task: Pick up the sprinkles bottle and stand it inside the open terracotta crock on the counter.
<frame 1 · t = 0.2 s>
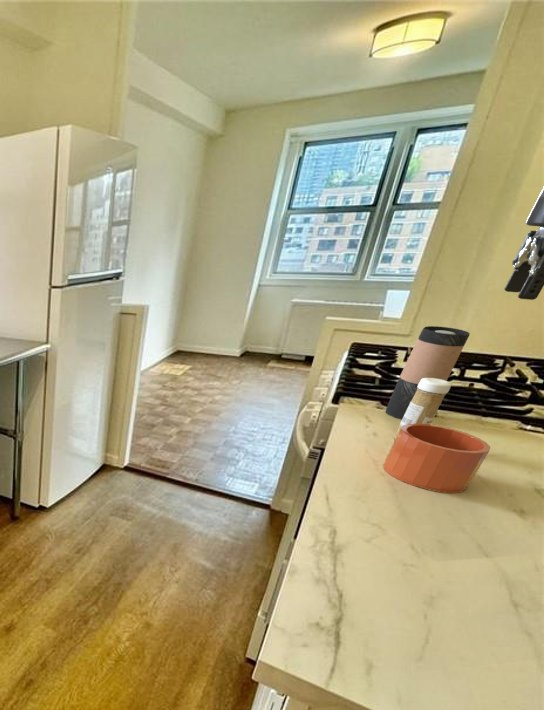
hand: (518, 295, 88), 30 cm above the worktop, tool pointing down, fingers open, 8 cm apart
crock: (423, 475, 89), on the worktop
travel mug: (404, 416, 113), on the worktop
sprinkles bottle: (405, 442, 102), on the worktop
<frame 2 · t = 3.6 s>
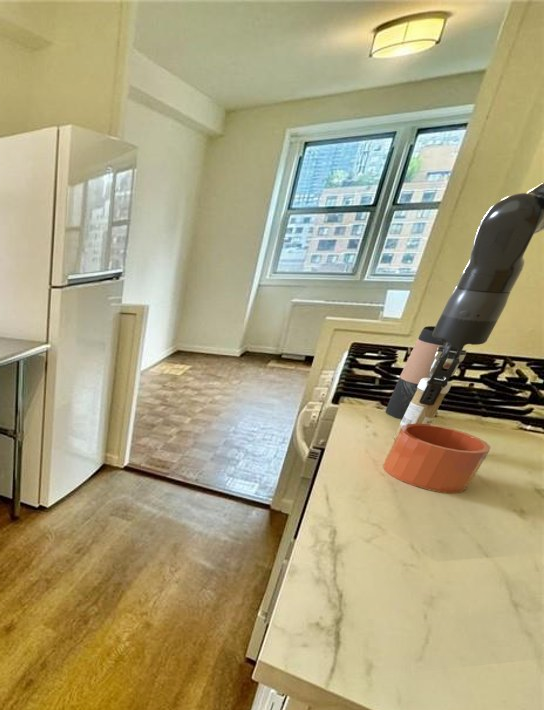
hand: (426, 400, 97), 9 cm above the worktop, tool pointing down, fingers closed on sprinkles bottle, 4 cm apart
sprinkles bottle: (405, 441, 102), on the worktop, touching gripper
everything else where it was.
when the fingers open (10 cm above the worktop, at t = 10.9 s): sprinkles bottle stays where it is, resting on crock.
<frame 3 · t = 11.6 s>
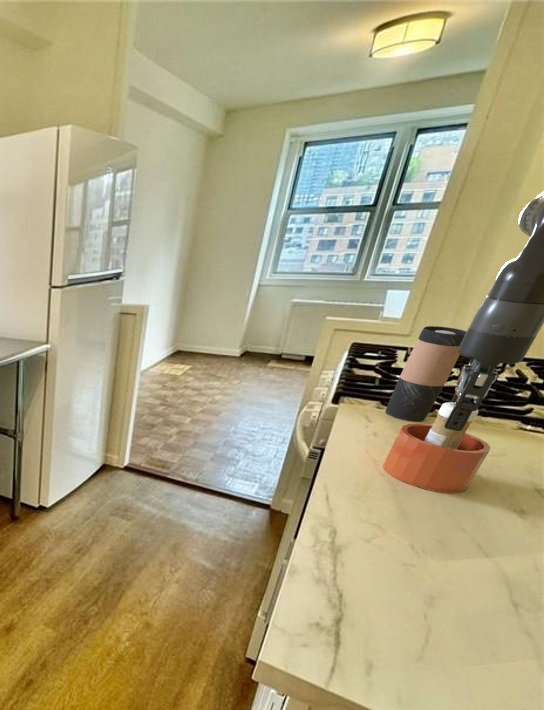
hand: (452, 421, 84), 11 cm above the worktop, tool pointing down, fingers open, 8 cm apart
sprinkles bottle: (424, 474, 89), resting on crock
everything else where it was.
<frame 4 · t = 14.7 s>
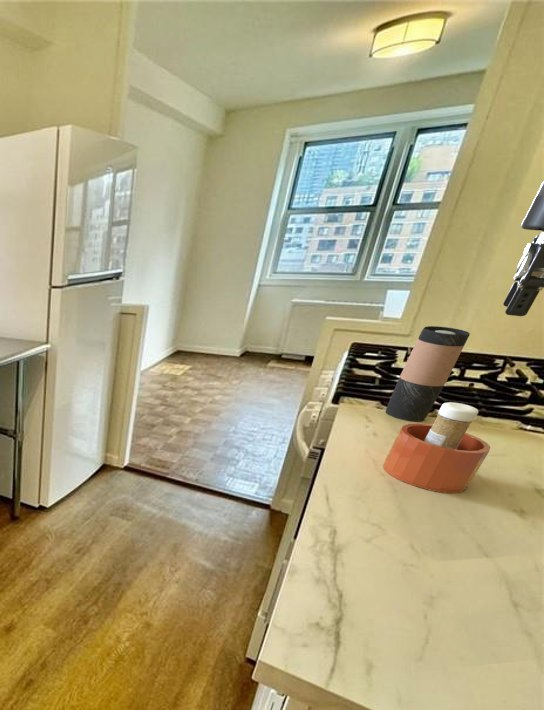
hand: (512, 310, 75), 30 cm above the worktop, tool pointing down, fingers open, 8 cm apart
nothing on the worktop moved.
at the end: sprinkles bottle inside the target area in the crock (0.0 cm from its centre), point 0.3 cm above the crock's base; sprinkles bottle tilted 0°; the gripper is holding nothing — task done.
